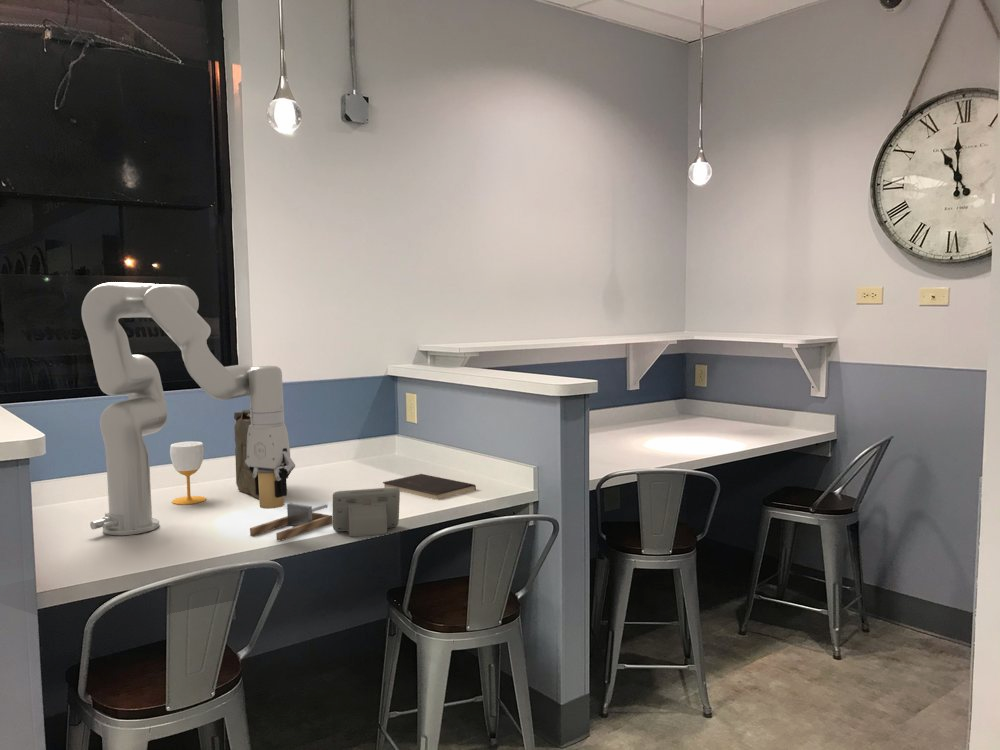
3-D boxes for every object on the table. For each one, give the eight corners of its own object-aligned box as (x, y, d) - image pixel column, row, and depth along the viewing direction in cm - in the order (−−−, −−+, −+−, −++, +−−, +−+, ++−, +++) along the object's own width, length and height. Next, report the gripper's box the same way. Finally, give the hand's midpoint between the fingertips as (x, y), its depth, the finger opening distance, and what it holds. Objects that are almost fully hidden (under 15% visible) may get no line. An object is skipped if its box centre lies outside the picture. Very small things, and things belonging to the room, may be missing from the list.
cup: (191, 505, 222) (189, 447, 221) (164, 503, 225) (161, 446, 224) (213, 498, 231) (211, 442, 229) (186, 495, 234) (184, 440, 232)
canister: (288, 496, 232) (285, 409, 230) (260, 501, 226) (257, 412, 224) (260, 485, 246) (257, 403, 244) (233, 490, 241) (230, 406, 238)
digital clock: (401, 525, 202) (400, 483, 201) (399, 536, 193) (398, 491, 192) (335, 527, 201) (333, 484, 200) (329, 537, 192) (328, 493, 191)
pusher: (308, 527, 199) (308, 507, 198) (287, 523, 202) (287, 504, 202) (337, 517, 208) (336, 498, 207) (316, 514, 211) (315, 495, 211)
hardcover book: (436, 502, 227) (436, 493, 227) (382, 489, 242) (382, 482, 242) (476, 491, 239) (476, 484, 238) (422, 480, 254) (422, 473, 254)
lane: (279, 541, 189) (279, 533, 189) (250, 535, 194) (249, 528, 193) (332, 522, 204) (332, 515, 204) (303, 517, 209) (303, 510, 209)
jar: (271, 509, 188) (269, 471, 187) (253, 507, 191) (251, 469, 190) (290, 504, 193) (288, 466, 192) (272, 501, 196) (270, 464, 195)
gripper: (229, 419, 191) (233, 495, 193) (282, 423, 183) (286, 502, 184) (253, 415, 198) (257, 488, 199) (306, 418, 189) (309, 495, 191)
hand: (271, 494), depth 192 cm, fingers closed on jar, 5 cm apart
